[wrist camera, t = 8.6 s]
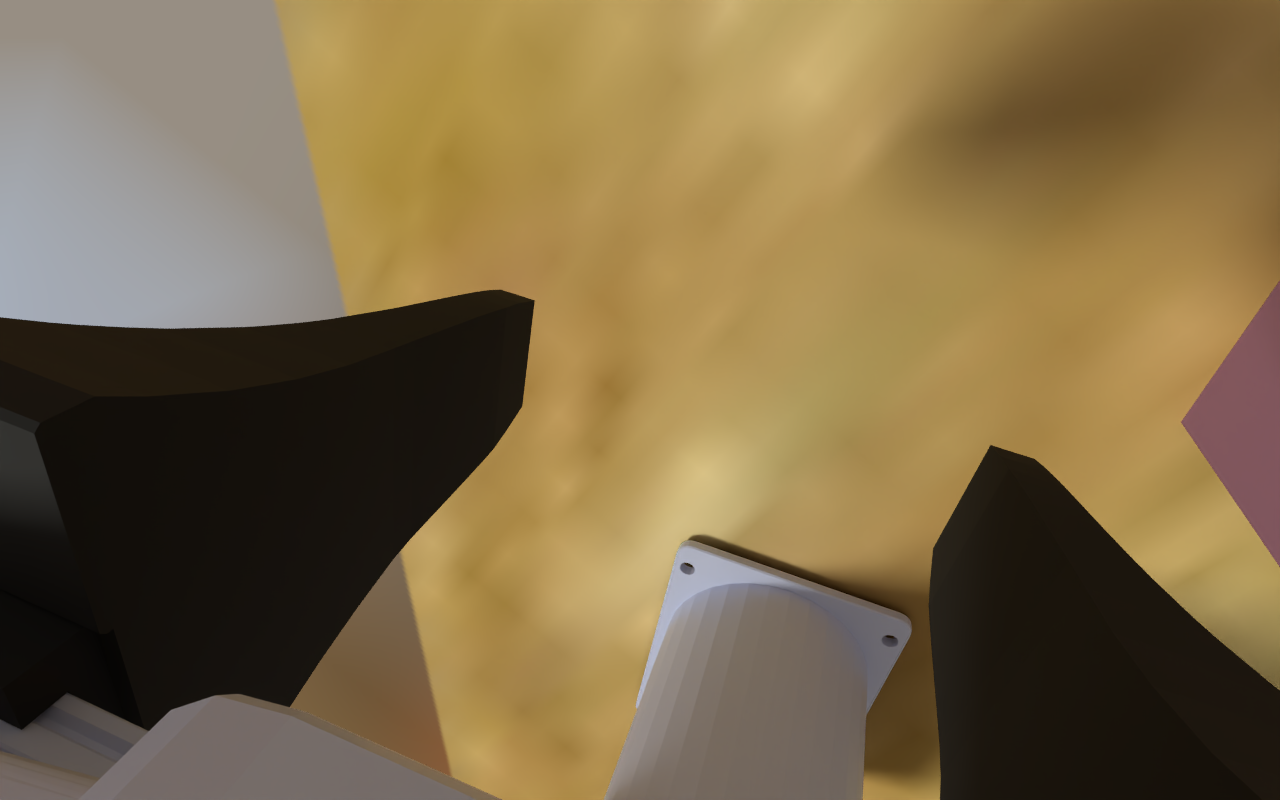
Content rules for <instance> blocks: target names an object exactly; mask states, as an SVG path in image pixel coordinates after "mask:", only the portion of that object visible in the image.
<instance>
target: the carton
mask: <svg viewBox="0 0 1280 800" xmlns="http://www.w3.org/2000/svg"><path fill="white" fill-rule="evenodd" d="M1181 423H1182V424H1183V426H1184V427H1185V429H1186V430H1187V432H1188V433H1189V435H1190V436H1191V437H1192V439H1193V440H1194V442H1195V443H1196V445H1197V446H1198V448H1199V449H1200V451H1201V452H1202V454H1203V455H1204V457H1205V458H1206V459H1207V461H1208V462H1209V464H1210V465H1211V467H1212V468H1213V470H1214V471H1215V473H1216V474H1217V476H1218V477H1219V479H1220V480H1221V481H1222V483H1223V484H1224V486H1225V487H1226V489H1227V490H1228V492H1229V493H1230V495H1231V496H1232V498H1233V499H1234V501H1235V502H1236V503H1237V505H1238V506H1239V508H1240V509H1241V511H1242V512H1243V514H1244V515H1245V517H1246V518H1247V520H1248V521H1249V523H1250V524H1251V525H1252V527H1253V528H1254V530H1255V531H1256V533H1257V534H1258V536H1259V537H1260V539H1261V540H1262V542H1263V543H1264V545H1265V546H1266V547H1267V549H1268V550H1269V552H1270V553H1271V555H1272V556H1273V558H1274V559H1275V561H1276V562H1277V564H1278V565H1279V567H1280V281H1279V282H1278V284H1277V285H1276V287H1275V288H1274V289H1273V291H1272V292H1271V294H1270V295H1269V297H1268V298H1267V300H1266V301H1265V302H1264V304H1263V305H1262V307H1261V308H1260V310H1259V311H1258V312H1257V314H1256V315H1255V317H1254V318H1253V320H1252V321H1251V322H1250V324H1249V325H1248V327H1247V328H1246V330H1245V331H1244V332H1243V334H1242V335H1241V337H1240V338H1239V340H1238V341H1237V343H1236V344H1235V345H1234V347H1233V348H1232V350H1231V351H1230V353H1229V354H1228V355H1227V357H1226V358H1225V360H1224V361H1223V363H1222V364H1221V365H1220V367H1219V368H1218V370H1217V371H1216V373H1215V374H1214V376H1213V377H1212V378H1211V380H1210V381H1209V383H1208V384H1207V386H1206V387H1205V388H1204V390H1203V391H1202V393H1201V394H1200V396H1199V397H1198V398H1197V400H1196V401H1195V403H1194V404H1193V406H1192V407H1191V409H1190V410H1189V411H1188V413H1187V414H1186V416H1185V417H1184V419H1183V420H1182V421H1181Z"/></svg>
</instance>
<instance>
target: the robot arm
mask: <svg viewBox="0 0 1280 800" xmlns="http://www.w3.org/2000/svg"><path fill="white" fill-rule="evenodd" d="M534 301H535V300H531V299H528V298H525V297H522V296H519V295H516V294H512V293H509V292H506V291H503V290H488V291H480V292H474V293H468V294H463V295H458V296H452V297H448V298H443V299H438V300H433V301H428V302H423V303H418V304H413V305H408V306H404V307H399V308H394V309H388V310H382V311H376V312H370V313H364V314H358V315H352V316H347V317H341V318H335V319H328V320H320V321H313V322H303V323H294V324H283V325H270V326H257V327H236V328H235V327H231V328H187V329H186V328H182V329H158V328H125V327H105V326H88V325H71V324H60V323H47V322H38V321H28V320H20V319H10V318H1V317H0V800H502V799H499V798H497V797H495V796H493V795H490V794H488V793H486V792H484V791H482V790H479V789H477V788H475V787H473V786H470V785H468V784H466V783H464V782H461V781H459V780H457V779H455V778H453V777H450V776H448V775H446V774H444V773H441V772H439V771H437V770H435V769H433V768H430V767H428V766H425V765H424V764H421V763H419V762H417V761H415V760H412V759H410V758H408V757H406V756H404V755H401V754H399V753H397V752H395V751H392V750H390V749H388V748H386V747H383V746H381V745H379V744H377V743H375V742H372V741H370V740H368V739H366V738H363V737H361V736H359V735H357V734H354V733H352V732H350V731H348V730H345V729H343V728H341V727H339V726H337V725H334V724H332V723H330V722H328V721H325V720H323V719H321V718H319V717H317V716H314V715H312V714H310V713H308V712H305V711H301V710H297V709H294V708H290V706H291V704H292V703H293V701H294V700H295V698H296V697H297V695H298V694H299V692H300V691H301V689H302V688H303V686H304V685H305V683H306V681H307V680H308V679H309V677H310V676H311V674H312V672H313V671H314V669H315V668H316V666H317V665H318V663H319V662H320V660H321V659H322V657H323V656H324V654H325V653H326V652H327V650H328V649H329V647H330V646H331V645H332V643H333V641H334V640H335V639H336V637H337V636H338V634H339V633H340V632H341V630H342V629H343V627H344V626H345V625H346V623H347V622H348V620H349V619H350V617H351V616H352V614H353V613H354V612H355V610H356V609H357V607H358V606H359V605H360V603H361V602H362V600H363V599H364V598H365V597H366V595H367V594H368V592H369V591H370V590H371V588H372V587H373V586H374V584H375V583H376V582H377V580H378V579H379V578H380V576H381V575H382V574H383V572H384V571H385V570H386V568H387V567H388V565H389V564H390V563H391V561H392V560H393V559H394V558H395V556H396V555H397V554H398V553H399V552H400V551H401V549H402V548H403V547H404V546H405V545H406V544H407V542H408V541H409V540H410V539H411V538H412V537H413V536H414V534H415V533H416V532H417V531H418V530H419V529H420V528H421V527H422V526H423V525H424V524H425V523H426V522H427V521H428V519H429V518H430V517H431V516H432V515H433V514H434V513H435V512H436V511H437V510H438V509H439V508H440V507H441V506H442V504H443V503H444V502H445V501H446V500H447V499H448V498H449V497H450V496H451V495H452V494H453V493H454V492H455V491H456V490H457V488H458V487H459V486H460V485H461V484H462V483H463V482H464V481H465V480H466V479H467V478H468V477H469V475H470V474H471V473H472V472H473V471H474V470H475V469H476V468H477V467H478V466H479V465H480V463H481V462H482V461H483V460H484V459H485V458H486V457H487V456H488V455H489V453H490V452H491V451H492V450H493V449H494V447H495V446H496V445H497V443H498V442H499V440H500V439H501V437H502V436H503V435H504V433H505V432H506V430H507V429H508V427H509V426H510V424H511V423H512V421H513V420H514V418H515V416H516V415H517V413H518V412H519V410H520V409H521V407H522V403H523V395H524V386H525V378H526V369H527V361H528V352H529V344H530V335H531V326H532V318H533V309H534ZM684 563H690V564H691V565H693V567H688V566H687V565H685V564H684ZM929 618H930V632H931V645H932V658H933V670H934V682H935V694H936V706H937V718H938V730H939V742H940V768H941V787H940V800H1280V691H1279V690H1278V689H1277V688H1276V687H1274V686H1273V685H1272V684H1271V683H1269V682H1268V681H1267V680H1266V679H1265V678H1263V677H1262V676H1261V675H1260V674H1259V673H1257V672H1256V671H1255V670H1254V669H1253V668H1251V667H1250V666H1249V665H1248V664H1247V663H1245V662H1244V661H1243V660H1242V659H1241V658H1239V657H1238V656H1237V655H1236V654H1235V653H1233V652H1232V651H1231V650H1230V649H1229V648H1227V647H1226V646H1225V645H1224V644H1223V643H1221V642H1220V641H1219V640H1218V639H1217V638H1216V637H1214V636H1213V635H1212V634H1211V633H1210V632H1209V631H1208V630H1207V629H1205V628H1204V627H1203V626H1202V625H1201V624H1200V623H1199V622H1198V621H1196V620H1195V619H1194V618H1193V617H1192V616H1191V615H1190V614H1189V613H1188V612H1187V611H1186V610H1185V609H1184V608H1183V607H1181V606H1180V605H1179V604H1178V603H1177V602H1176V601H1175V600H1174V599H1173V598H1172V597H1171V596H1170V595H1169V594H1168V593H1167V592H1166V591H1165V590H1164V589H1163V588H1162V587H1160V586H1159V585H1158V584H1157V583H1156V582H1155V581H1154V580H1153V579H1152V578H1151V577H1150V576H1149V575H1148V574H1147V573H1146V572H1145V571H1144V570H1143V569H1142V568H1141V567H1140V566H1139V565H1138V564H1137V563H1136V562H1135V561H1134V560H1133V559H1132V558H1131V557H1130V556H1129V555H1128V554H1127V553H1126V552H1125V551H1124V550H1123V548H1122V547H1121V546H1120V545H1119V544H1118V543H1117V542H1116V541H1115V540H1114V539H1113V538H1112V537H1111V536H1110V535H1109V534H1108V533H1107V532H1106V531H1105V530H1104V529H1103V527H1102V526H1101V525H1100V524H1099V523H1098V522H1097V521H1096V520H1095V519H1094V518H1093V517H1092V516H1091V515H1090V514H1089V513H1088V511H1087V510H1086V509H1085V508H1084V507H1083V506H1082V505H1081V504H1080V503H1079V502H1078V501H1077V500H1076V499H1075V498H1074V496H1073V495H1072V494H1071V493H1070V492H1069V491H1068V490H1067V489H1066V488H1065V487H1064V486H1063V485H1062V484H1061V483H1060V482H1059V481H1058V480H1057V479H1056V478H1055V477H1054V476H1053V475H1052V474H1051V473H1050V472H1049V471H1048V470H1047V469H1046V468H1045V467H1044V466H1042V465H1041V464H1040V463H1039V462H1038V461H1036V460H1035V459H1033V458H1030V457H1027V456H1023V455H1020V454H1017V453H1014V452H1011V451H1008V450H1004V449H1001V448H998V447H995V446H992V445H990V447H989V449H988V451H987V453H986V454H985V456H984V458H983V460H982V462H981V463H980V465H979V467H978V469H977V471H976V472H975V474H974V476H973V478H972V480H971V481H970V483H969V485H968V487H967V489H966V490H965V492H964V494H963V496H962V498H961V499H960V501H959V503H958V505H957V507H956V508H955V510H954V512H953V514H952V516H951V517H950V519H949V521H948V523H947V525H946V526H945V528H944V530H943V532H942V534H941V535H940V537H939V539H938V541H937V543H936V544H935V546H934V548H933V557H932V568H931V578H930V594H929ZM911 632H912V624H911V621H910V619H909V618H908V617H907V616H906V615H904V614H902V613H900V612H897V611H894V610H891V609H888V608H885V607H882V606H880V605H877V604H874V603H871V602H868V601H865V600H862V599H860V598H857V597H854V596H851V595H848V594H845V593H842V592H839V591H837V590H834V589H831V588H828V587H825V586H822V585H819V584H817V583H814V582H811V581H808V580H805V579H802V578H799V577H797V576H794V575H791V574H788V573H785V572H782V571H779V570H777V569H774V568H771V567H768V566H765V565H762V564H759V563H757V562H754V561H751V560H748V559H745V558H742V557H739V556H737V555H734V554H731V553H728V552H725V551H722V550H719V549H717V548H714V547H711V546H708V545H705V544H702V543H699V542H697V541H692V540H688V541H684V542H683V543H681V545H680V546H679V548H678V551H677V554H676V558H675V561H674V565H673V569H672V572H671V576H670V580H669V583H668V587H667V591H666V594H665V598H664V602H663V606H662V609H661V613H660V617H659V620H658V624H657V628H656V631H655V635H654V639H653V642H652V646H651V650H650V654H649V657H648V661H647V665H646V668H645V672H644V676H643V679H642V683H641V687H640V690H639V694H638V698H637V702H636V708H637V711H636V714H635V717H634V719H633V722H632V725H631V727H630V730H629V733H628V736H627V738H626V741H625V744H624V746H623V749H622V752H621V755H620V757H619V760H618V763H617V765H616V768H615V771H614V773H613V776H612V779H611V782H610V784H609V787H608V790H607V792H606V795H605V798H604V800H863V778H864V755H865V731H866V715H867V713H868V711H869V710H870V708H871V706H872V704H873V702H874V701H875V699H876V697H877V695H878V693H879V692H880V690H881V688H882V686H883V684H884V683H885V681H886V679H887V677H888V675H889V674H890V672H891V670H892V668H893V666H894V665H895V663H896V661H897V659H898V657H899V656H900V654H901V652H902V650H903V648H904V647H905V645H906V643H907V641H908V639H909V638H910V636H911ZM886 635H891V636H894V637H895V638H887V637H885V636H886Z"/></svg>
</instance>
